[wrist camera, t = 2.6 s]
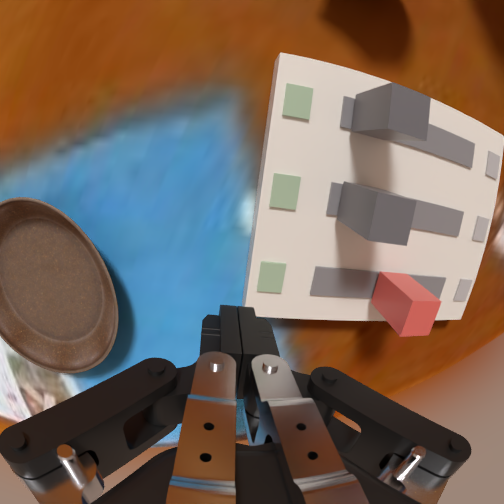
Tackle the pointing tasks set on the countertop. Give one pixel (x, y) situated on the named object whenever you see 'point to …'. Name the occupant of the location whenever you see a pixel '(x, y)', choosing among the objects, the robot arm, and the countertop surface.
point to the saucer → (53, 289)
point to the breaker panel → (364, 170)
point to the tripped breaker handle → (405, 304)
